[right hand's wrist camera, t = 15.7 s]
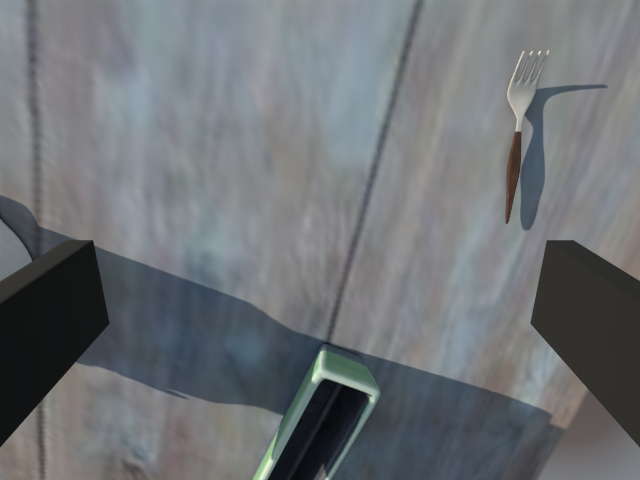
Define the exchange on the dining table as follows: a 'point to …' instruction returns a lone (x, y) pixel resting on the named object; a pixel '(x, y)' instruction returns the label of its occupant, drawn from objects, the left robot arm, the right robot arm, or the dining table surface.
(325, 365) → the planter
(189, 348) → the dining table surface
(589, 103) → the dining table surface
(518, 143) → the fork
